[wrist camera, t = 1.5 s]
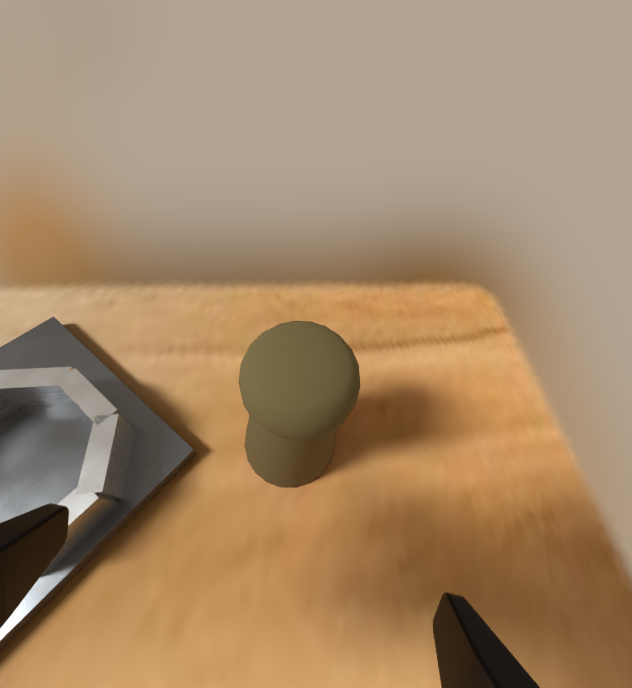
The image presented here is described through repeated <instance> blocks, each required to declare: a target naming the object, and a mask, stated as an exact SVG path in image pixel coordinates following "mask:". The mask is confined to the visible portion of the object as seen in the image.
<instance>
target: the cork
mask: <svg viewBox="0 0 632 688" xmlns="http://www.w3.org/2000/svg"><path fill="white" fill-rule="evenodd" d="M239 386H240V390H241V395H242V399H243V403H244V406H245V408H246V409H247V411H248V412H249V414H250V416H249V421H248V425H247V430H246V438H245V450H246V454H247V459H248V461H249V463H250V465H251V466H252V468H253V470H254V471H255V473H256V474H258V475H259V476H260V477H261V478H262V479H264V480H265V481H266V482H268V483H270V484H273V485H276V486H279V487H299V486H302V485H305V484H308V483H311V482H312V481H313V480H315V479H316V478H317V477H318V476H320V475H321V474H322V473H323V472H324V470H325V469H326V467H327V466H328V464H329V463H330V461H331V457H332V454H333V450H334V445H335V436H336V428H337V427H338V426H339V425H341V424H342V423H343V422H344V421H345V419H346V418H347V416H348V415H349V413H350V412H351V410H352V409H353V407H354V406H355V404H356V401H357V397H358V393H359V389H360V375H359V365H358V362H357V360H356V358H355V356H354V353H353V351H352V349H351V348H350V347H349V346H348V345H347V344H346V342H345V341H344V340H343V339H342V338H341V337H340V336H339V335H338V334H337V333H335V332H333V331H332V330H330V329H329V328H327V327H326V326H323V325H319V324H316V323H313V322H307V321H292V322H287V323H282V324H279V325H277V326H275V327H273V328H271V329H269V330H267V331H265V332H263V333H262V334H261V335H260V336H259V337H258V338H257V339H256V340H255V341H254V342H253V343H251V344H250V346H249V348H248V350H247V352H246V354H245V356H244V358H243V360H242V363H241V368H240V375H239Z"/></svg>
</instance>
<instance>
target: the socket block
mask: <svg viewBox="0 0 632 688" xmlns="http://www.w3.org/2000/svg"><path fill="white" fill-rule="evenodd" d="M196 454H197V453H196V452H195V450H194V449H193V448H192V447H191V446H190V445H188V444H187V443H186V442H185V441H184V440H183V439H182V438H181V437H180V436H179V435H178V434H177V433H176V432H175V431H174V430H173V429H172V428H171V427H169V426H168V425H167V424H166V423H165V422H164V421H163V420H162V419H161V418H160V417H159V416H158V415H157V414H156V413H155V412H154V411H153V410H152V409H150V408H149V407H148V406H147V405H146V404H145V403H144V402H143V401H142V400H141V399H140V398H139V397H138V396H137V395H136V394H135V393H134V392H133V391H131V390H130V389H129V388H128V387H127V386H126V385H125V384H124V383H123V382H122V381H121V380H120V379H119V378H118V377H117V376H116V375H115V374H114V373H112V372H111V371H110V370H109V369H108V368H107V367H106V366H105V365H104V364H103V363H102V362H101V361H100V360H99V359H98V358H97V357H96V356H95V355H93V354H92V353H91V352H90V351H89V350H88V349H87V348H86V347H85V346H84V345H83V344H82V343H81V342H80V341H79V340H78V339H77V338H76V337H74V336H73V335H72V334H71V333H70V332H69V331H68V330H67V329H66V328H65V327H64V326H63V325H62V324H61V323H60V322H59V321H58V320H57V319H55V318H54V317H52V318H50V319H49V320H47V321H45V322H43V323H42V324H40V325H38V326H36V327H35V328H33V329H31V330H30V331H28V332H26V333H24V334H23V335H21V336H19V337H18V338H16V339H14V340H12V341H11V342H9V343H7V344H5V345H4V346H2V347H0V523H1V522H4V521H6V520H9V519H11V518H14V517H16V516H19V515H21V514H24V513H26V512H28V511H31V510H33V509H36V508H38V507H41V506H43V505H46V504H50V503H53V504H58V505H62V506H66V507H68V509H69V522H68V536H67V539H66V542H65V544H64V545H63V547H62V548H61V550H60V551H59V552H58V554H57V555H56V556H55V558H54V559H53V560H52V562H51V563H50V564H49V566H48V567H47V568H46V570H45V571H44V572H43V574H42V575H41V576H40V578H39V579H38V580H37V582H36V583H35V584H34V586H33V587H32V588H31V590H30V591H29V592H28V594H27V595H26V596H25V598H24V599H23V600H22V602H21V603H20V604H19V606H18V607H17V608H16V610H15V611H14V612H13V614H12V615H11V616H10V617H9V619H8V620H7V621H6V622H5V624H4V625H3V626H2V627H1V628H0V650H1V649H2V648H3V647H4V646H5V645H6V644H7V643H8V642H9V641H10V640H11V639H12V638H13V637H14V636H15V635H16V634H17V633H18V632H19V631H20V630H21V629H22V628H23V627H24V626H25V625H26V624H27V623H28V622H29V621H30V620H31V619H32V618H33V617H34V616H35V615H36V614H37V613H38V612H39V611H40V610H41V609H42V608H43V607H44V606H45V605H46V604H47V603H48V602H49V601H50V600H51V599H52V598H53V597H54V596H55V595H56V594H57V593H58V592H59V591H60V590H61V589H62V588H63V587H64V586H65V585H66V584H67V583H68V582H69V581H70V580H71V579H72V578H73V577H74V576H75V575H76V574H77V573H78V572H79V571H80V570H81V569H82V568H83V567H84V566H85V565H86V564H87V563H88V562H89V561H90V560H91V559H92V558H93V557H94V556H95V555H96V554H97V553H98V552H99V551H100V550H101V549H102V548H103V547H104V546H105V545H106V544H107V543H108V542H109V541H110V540H111V539H112V538H113V537H114V536H115V535H116V534H117V533H118V532H119V531H120V530H121V529H122V528H123V527H124V526H125V525H126V524H127V523H128V522H129V521H130V520H131V519H132V518H133V517H134V516H135V515H136V514H137V513H138V512H139V511H140V510H141V509H142V508H143V507H144V506H145V505H146V504H147V503H148V502H149V501H150V500H151V499H152V498H153V497H154V496H155V495H156V494H157V493H158V492H159V491H160V490H161V489H162V488H163V487H164V486H165V485H166V484H167V483H168V482H169V481H170V480H171V479H172V478H173V477H174V476H175V475H176V474H177V473H178V472H179V471H180V470H181V469H182V468H183V467H184V466H185V465H186V464H187V463H188V462H189V461H190V460H191V459H192V458H193V457H194V456H195V455H196Z"/></svg>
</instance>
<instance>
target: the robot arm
mask: <svg viewBox="0 0 632 688" xmlns="http://www.w3.org/2000/svg"><path fill="white" fill-rule="evenodd" d="M68 522H69V509H68V507H66V506H62V505H58V504H53V503H50V504H46V505H43V506H41V507H38V508H36V509H33V510H31V511H28V512H26V513H24V514H21V515H19V516H16V517H14V518H11V519H9V520H6V521H4V522H1V523H0V628H1V627H2V626H3V625H4V624H5V622H6V621H7V620H8V619H9V617H10V616H11V615H12V614H13V612H14V611H15V610H16V608H17V607H18V606H19V604H20V603H21V602H22V600H23V599H24V598H25V596H26V595H27V594H28V592H29V591H30V590H31V588H32V587H33V586H34V584H35V583H36V582H37V580H38V579H39V578H40V576H41V575H42V574H43V572H44V571H45V570H46V568H47V567H48V566H49V564H50V563H51V562H52V560H53V559H54V558H55V556H56V555H57V554H58V552H59V551H60V550H61V548H62V547H63V545H64V544H65V542H66V539H67V536H68ZM433 633H434V639H435V646H436V653H437V660H438V666H439V673H440V680H441V686H442V688H540V687H539V686H538V685H537V684H536V682H535V681H534V680H533V679H532V678H531V676H530V675H529V674H528V673H527V672H526V670H525V669H524V668H523V667H522V666H521V665H520V663H519V662H518V661H517V660H516V659H515V657H514V656H513V655H512V654H511V653H510V651H509V650H508V649H507V648H506V647H505V645H504V644H503V643H502V642H501V641H500V640H499V638H498V637H497V636H496V635H495V634H494V632H493V631H492V630H491V629H490V628H489V626H488V625H487V624H486V623H485V622H484V620H483V619H482V618H481V617H480V616H479V614H478V613H477V612H476V611H475V610H474V609H473V607H472V606H471V605H470V604H469V603H468V601H467V600H466V599H465V598H464V597H463V596H461V595H457V594H453V593H448V592H445V593H444V594H443V595H442V597H441V600H440V603H439V605H438V608H437V611H436V614H435V616H434V620H433Z"/></svg>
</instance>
